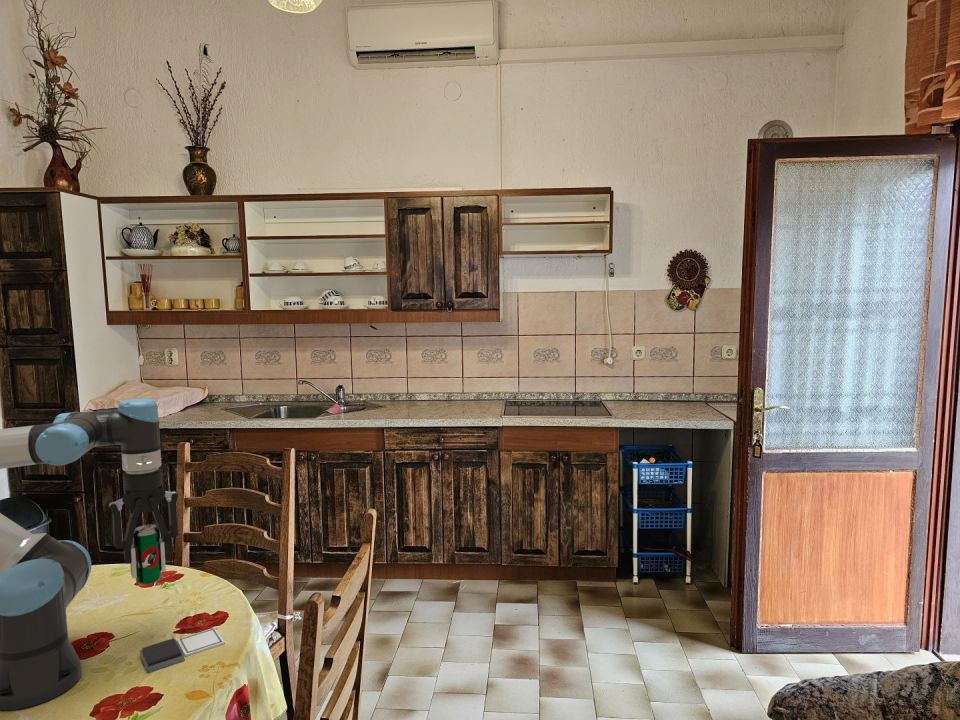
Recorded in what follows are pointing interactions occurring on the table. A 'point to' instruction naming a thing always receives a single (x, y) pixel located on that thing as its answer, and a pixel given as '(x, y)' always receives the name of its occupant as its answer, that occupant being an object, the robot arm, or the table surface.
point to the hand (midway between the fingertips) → (148, 572)
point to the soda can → (147, 554)
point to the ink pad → (161, 655)
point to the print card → (200, 641)
